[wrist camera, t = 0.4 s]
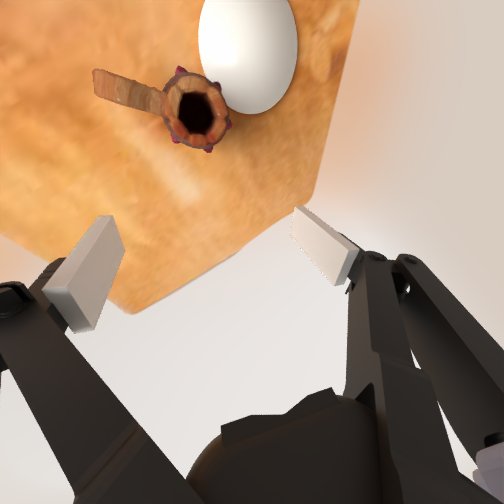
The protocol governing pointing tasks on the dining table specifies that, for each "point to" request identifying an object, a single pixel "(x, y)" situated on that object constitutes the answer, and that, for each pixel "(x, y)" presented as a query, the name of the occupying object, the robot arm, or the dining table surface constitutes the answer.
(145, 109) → the mug
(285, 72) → the plate
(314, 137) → the dining table surface
